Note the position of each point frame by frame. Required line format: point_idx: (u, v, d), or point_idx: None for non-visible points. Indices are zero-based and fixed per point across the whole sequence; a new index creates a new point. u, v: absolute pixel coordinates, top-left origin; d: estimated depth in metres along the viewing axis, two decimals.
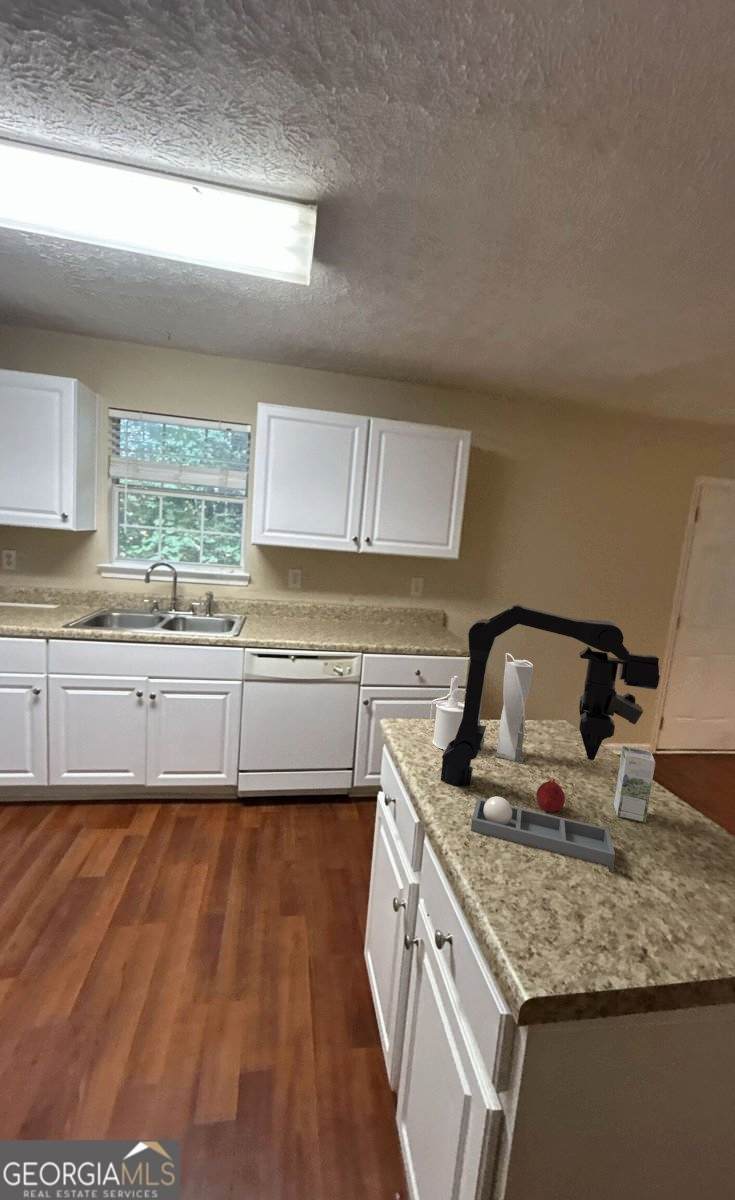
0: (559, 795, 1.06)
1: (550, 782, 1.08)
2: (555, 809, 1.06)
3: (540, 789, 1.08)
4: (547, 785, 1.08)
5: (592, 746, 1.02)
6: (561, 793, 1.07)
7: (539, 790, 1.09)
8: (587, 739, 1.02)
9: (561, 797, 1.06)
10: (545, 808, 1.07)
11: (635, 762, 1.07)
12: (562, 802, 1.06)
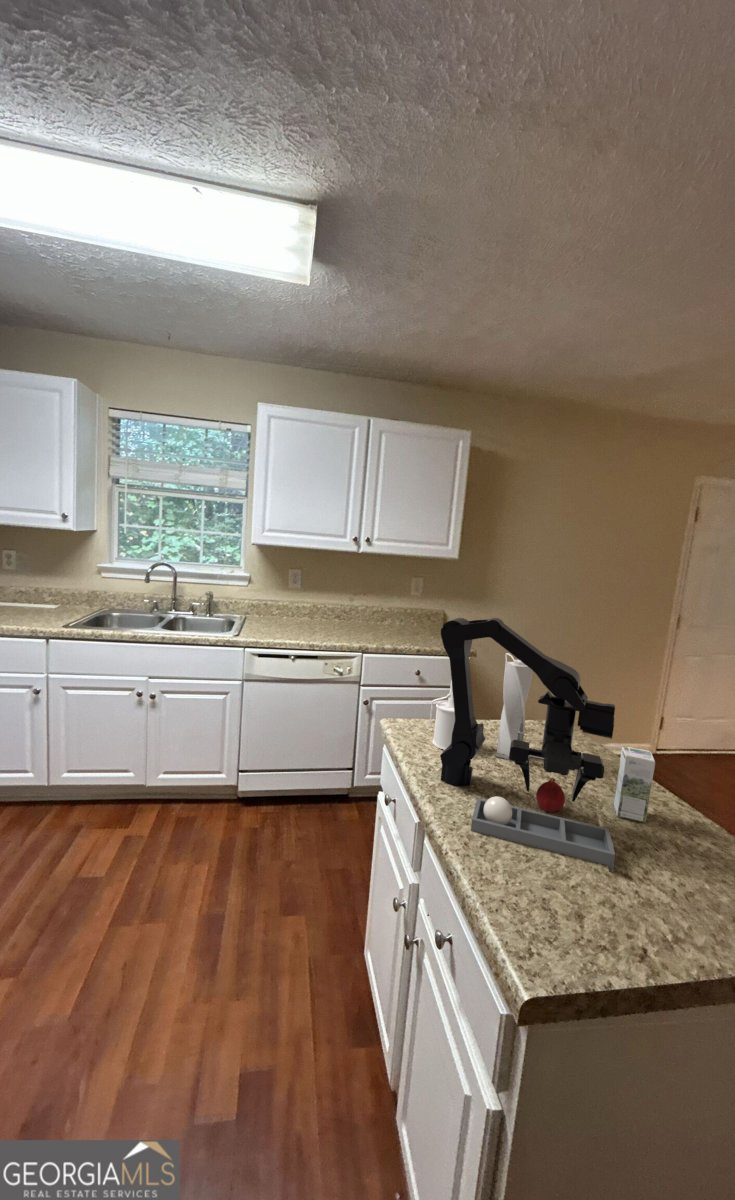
0: (559, 795, 1.06)
1: (550, 782, 1.08)
2: (555, 809, 1.06)
3: (540, 789, 1.08)
4: (547, 785, 1.08)
5: None
6: (561, 793, 1.07)
7: (539, 790, 1.09)
8: None
9: (561, 797, 1.06)
10: (545, 808, 1.07)
11: (635, 762, 1.07)
12: (562, 802, 1.06)
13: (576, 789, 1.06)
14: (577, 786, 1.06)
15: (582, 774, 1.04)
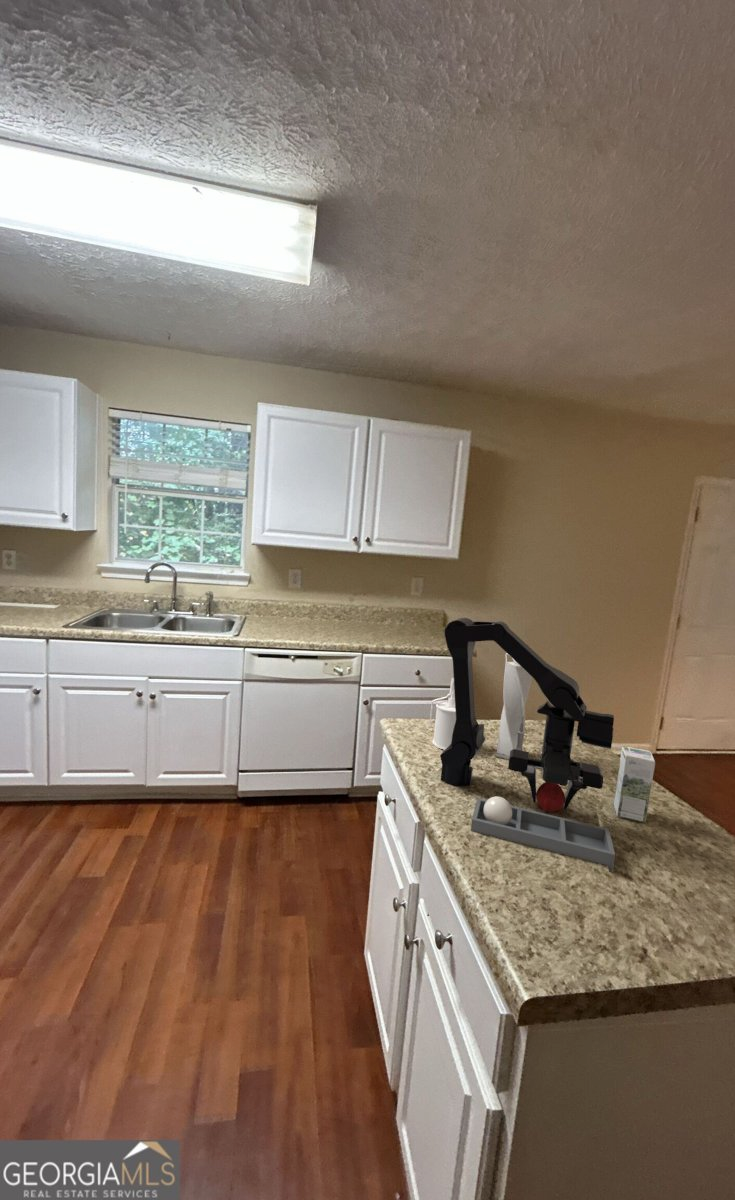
0: (559, 795, 1.06)
1: None
2: (555, 809, 1.06)
3: (540, 789, 1.08)
4: (547, 785, 1.08)
5: None
6: (561, 793, 1.07)
7: (539, 790, 1.09)
8: None
9: (561, 797, 1.06)
10: (545, 808, 1.07)
11: (635, 762, 1.07)
12: (562, 802, 1.06)
13: (568, 797, 1.06)
14: (569, 794, 1.06)
15: (573, 782, 1.05)
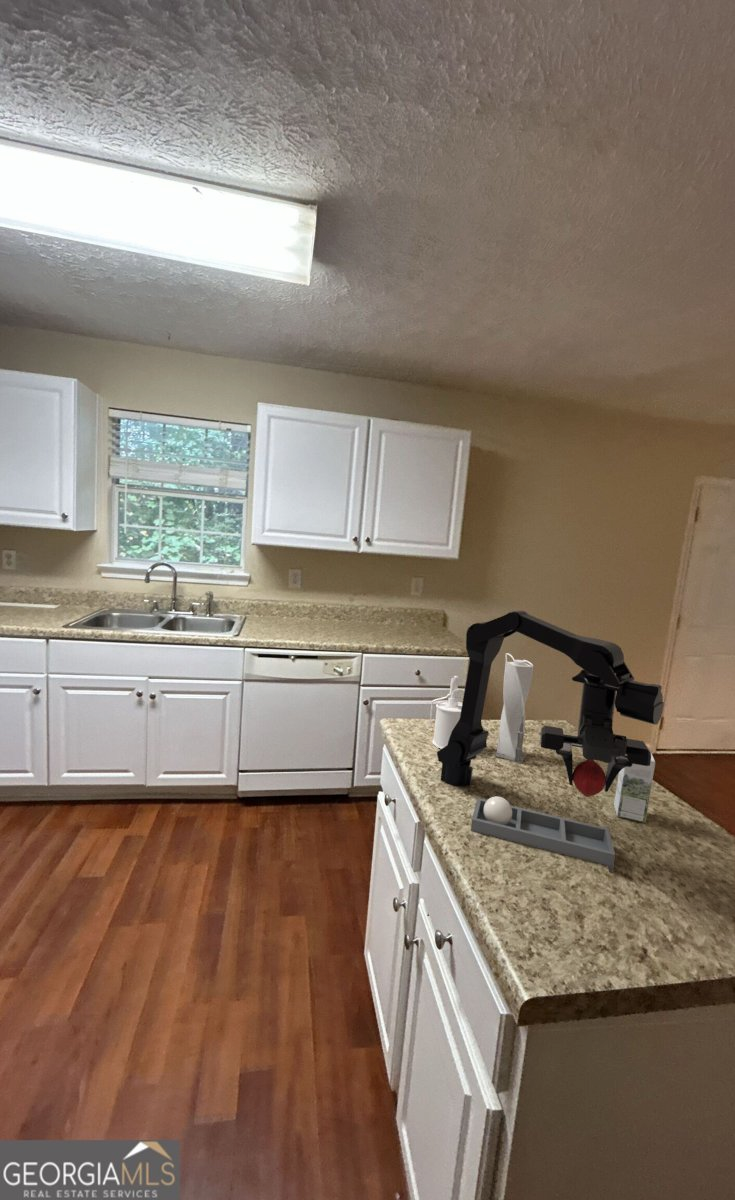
0: (600, 775, 0.94)
1: (589, 761, 0.96)
2: (596, 791, 0.94)
3: (577, 769, 0.96)
4: (585, 765, 0.95)
5: None
6: (602, 773, 0.94)
7: (576, 770, 0.96)
8: None
9: (602, 777, 0.94)
10: (584, 790, 0.95)
11: None
12: (603, 783, 0.94)
13: (609, 777, 0.94)
14: (611, 774, 0.94)
15: (616, 760, 0.93)
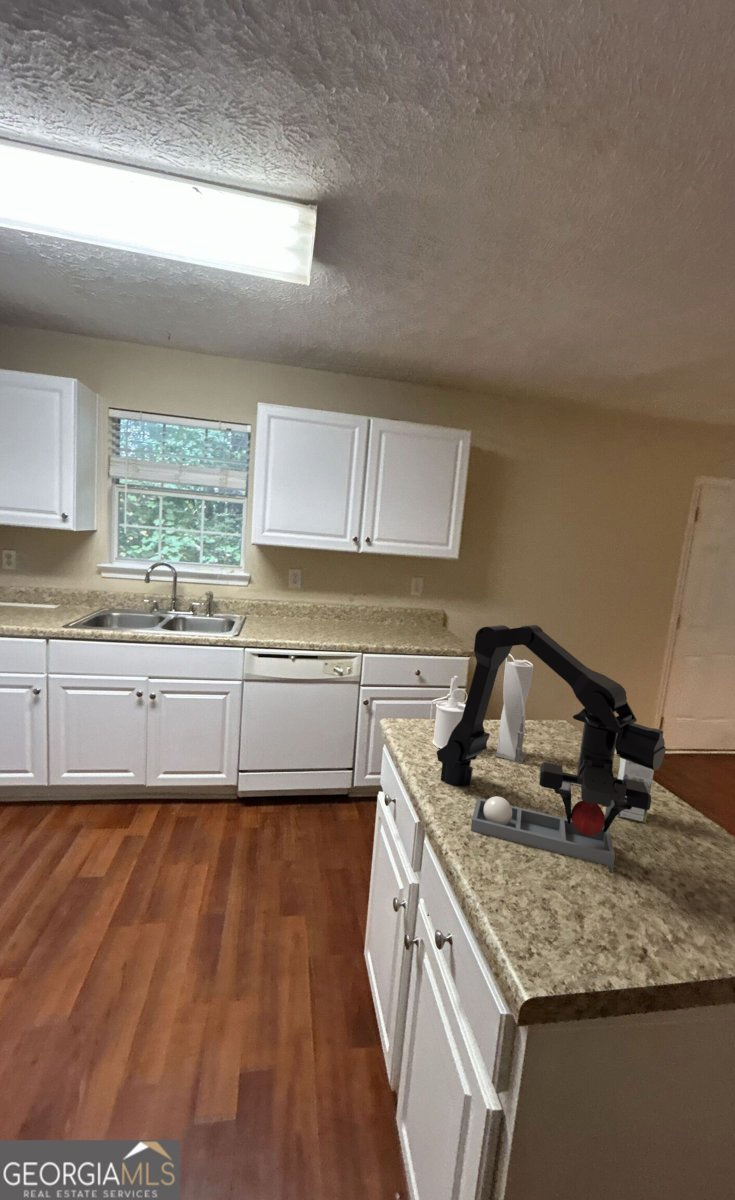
0: (598, 816, 0.93)
1: None
2: (594, 832, 0.93)
3: (576, 808, 0.95)
4: (584, 804, 0.94)
5: None
6: (601, 814, 0.93)
7: (575, 810, 0.95)
8: None
9: (601, 818, 0.93)
10: (582, 831, 0.94)
11: None
12: (602, 824, 0.93)
13: (608, 818, 0.93)
14: (609, 815, 0.93)
15: (616, 802, 0.92)
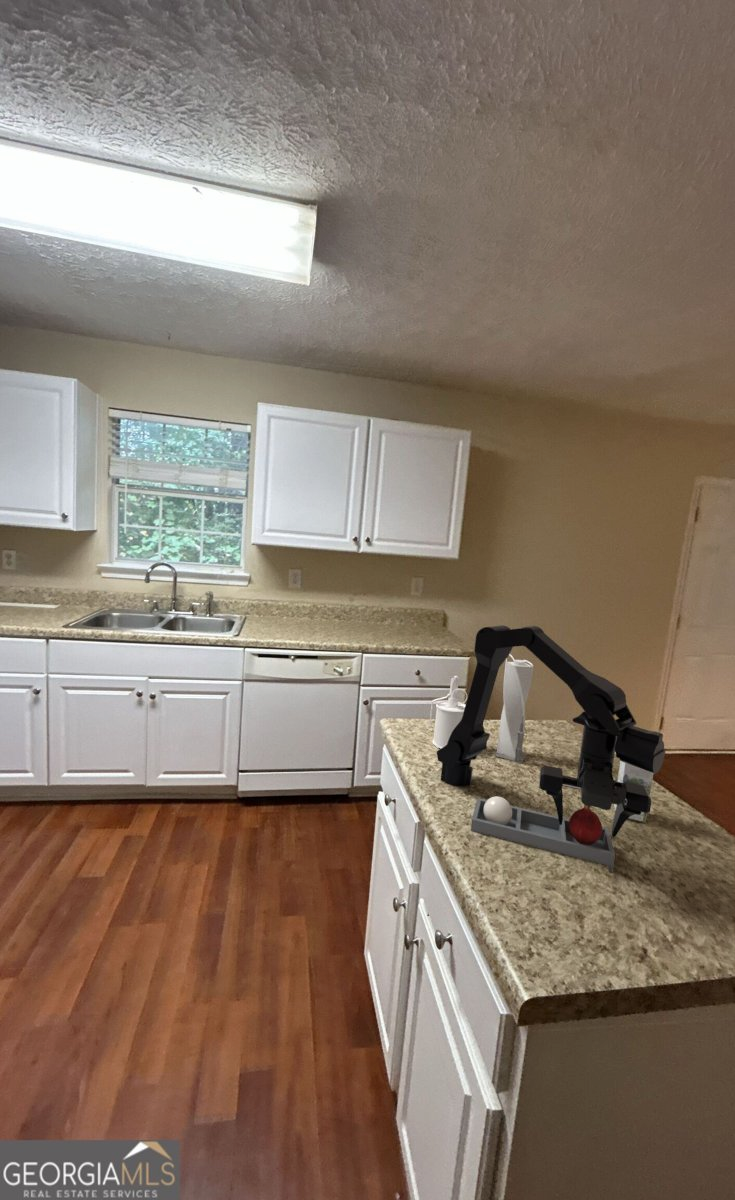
0: (596, 825, 0.93)
1: (584, 809, 0.95)
2: (592, 841, 0.93)
3: (573, 818, 0.95)
4: (581, 813, 0.95)
5: None
6: (598, 822, 0.94)
7: (572, 819, 0.95)
8: None
9: (598, 826, 0.93)
10: (580, 840, 0.94)
11: None
12: (599, 832, 0.93)
13: (617, 824, 0.92)
14: (618, 820, 0.92)
15: (625, 807, 0.91)
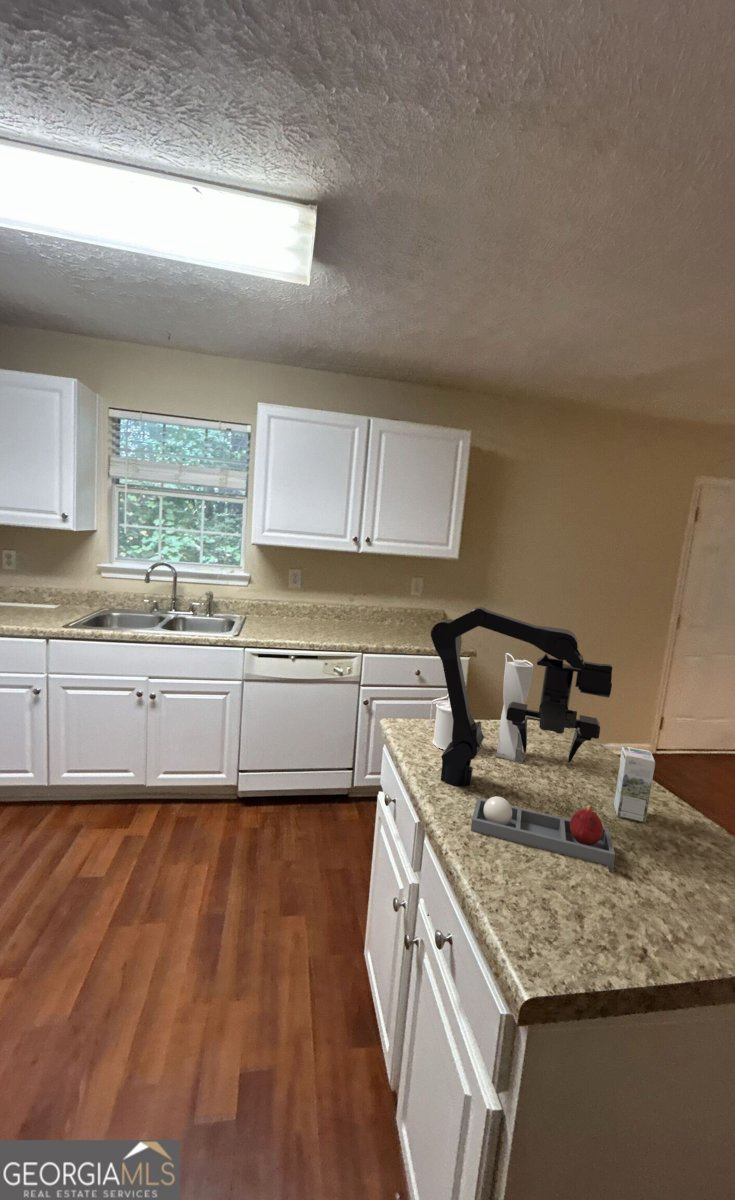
0: (597, 826, 0.93)
1: (586, 811, 0.95)
2: (592, 842, 0.93)
3: (574, 818, 0.95)
4: (582, 814, 0.94)
5: None
6: (599, 824, 0.94)
7: (573, 820, 0.95)
8: None
9: (599, 828, 0.93)
10: (581, 841, 0.94)
11: (635, 762, 1.07)
12: (600, 834, 0.93)
13: (572, 750, 1.07)
14: (573, 747, 1.07)
15: (578, 734, 1.06)
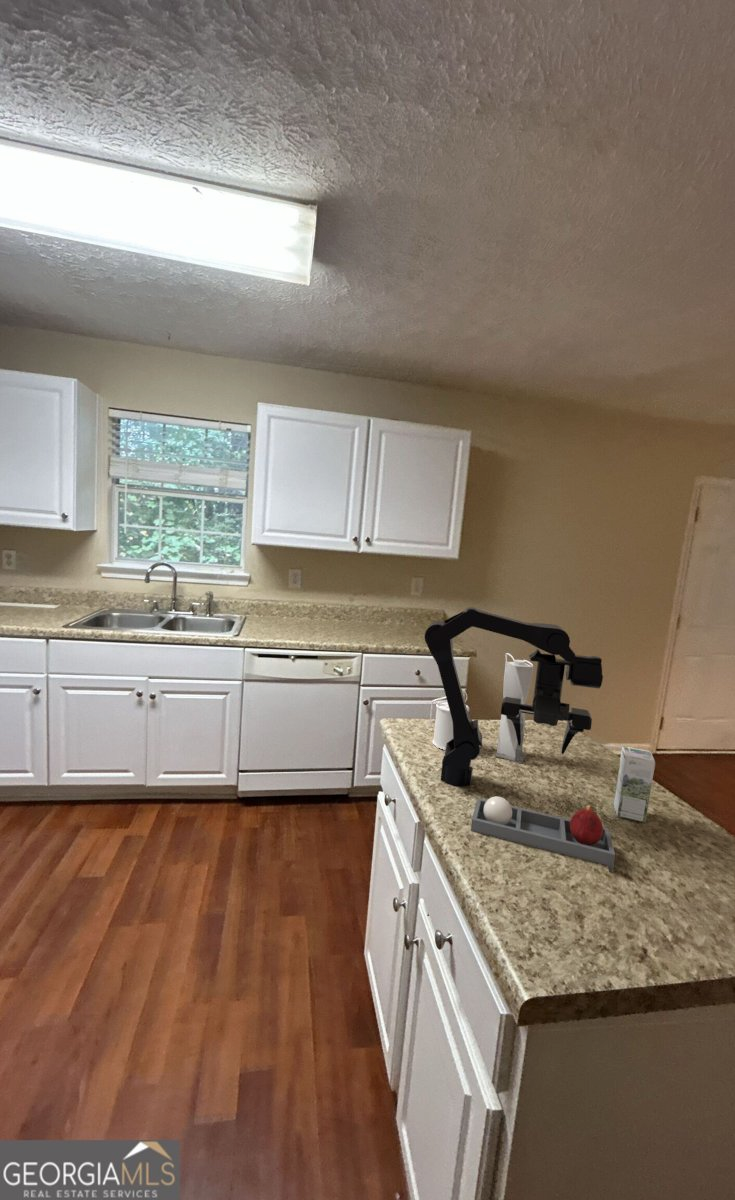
0: (597, 826, 0.93)
1: (586, 811, 0.95)
2: (592, 842, 0.93)
3: (574, 818, 0.95)
4: (582, 814, 0.94)
5: None
6: (599, 824, 0.94)
7: (573, 820, 0.95)
8: None
9: (599, 828, 0.93)
10: (581, 841, 0.94)
11: (635, 762, 1.07)
12: (600, 834, 0.93)
13: (565, 741, 1.10)
14: (566, 738, 1.10)
15: (571, 726, 1.09)
